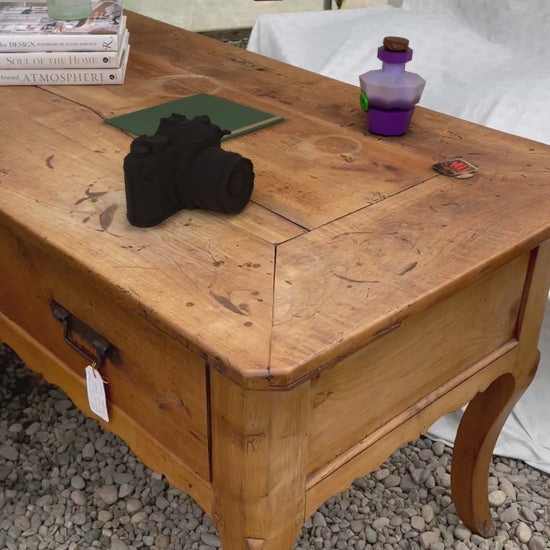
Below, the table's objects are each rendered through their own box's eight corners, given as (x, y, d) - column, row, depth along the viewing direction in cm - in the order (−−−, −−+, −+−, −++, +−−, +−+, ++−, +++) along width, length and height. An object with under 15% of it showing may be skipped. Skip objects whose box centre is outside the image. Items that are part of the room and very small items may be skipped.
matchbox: (427, 168, 91) (428, 164, 91) (455, 159, 94) (456, 155, 94) (458, 181, 88) (459, 177, 88) (486, 171, 91) (487, 167, 91)
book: (185, 154, 94) (185, 151, 93) (103, 122, 103) (103, 119, 103) (284, 120, 105) (284, 118, 105) (203, 94, 114) (203, 92, 114)
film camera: (195, 247, 73) (192, 157, 69) (114, 222, 77) (107, 136, 73) (274, 192, 85) (276, 111, 80) (200, 173, 89) (199, 95, 84)
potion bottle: (341, 125, 104) (347, 34, 98) (390, 115, 108) (399, 27, 102) (383, 145, 98) (393, 49, 92) (433, 134, 102) (446, 41, 96)
